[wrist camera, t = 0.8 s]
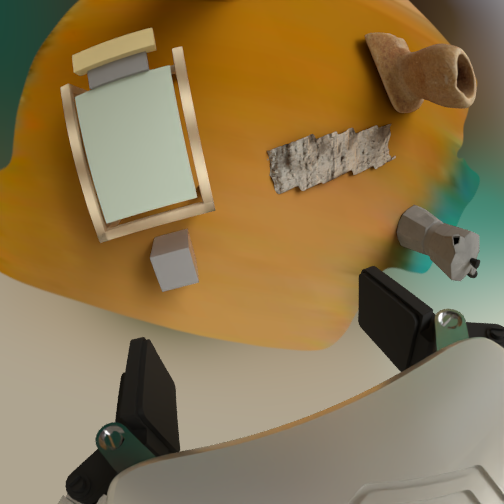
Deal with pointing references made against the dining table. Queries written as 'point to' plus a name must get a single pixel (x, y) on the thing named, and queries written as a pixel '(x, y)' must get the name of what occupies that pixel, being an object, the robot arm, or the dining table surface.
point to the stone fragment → (328, 157)
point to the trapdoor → (131, 128)
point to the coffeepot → (440, 242)
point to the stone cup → (422, 73)
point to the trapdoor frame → (102, 229)
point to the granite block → (174, 260)
